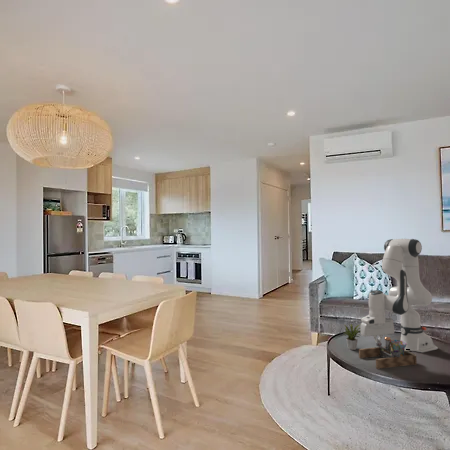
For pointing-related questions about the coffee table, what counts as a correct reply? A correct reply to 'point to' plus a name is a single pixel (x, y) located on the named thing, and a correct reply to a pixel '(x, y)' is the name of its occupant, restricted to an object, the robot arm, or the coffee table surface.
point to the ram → (387, 349)
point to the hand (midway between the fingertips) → (378, 342)
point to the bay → (388, 362)
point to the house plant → (352, 337)
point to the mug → (397, 346)
